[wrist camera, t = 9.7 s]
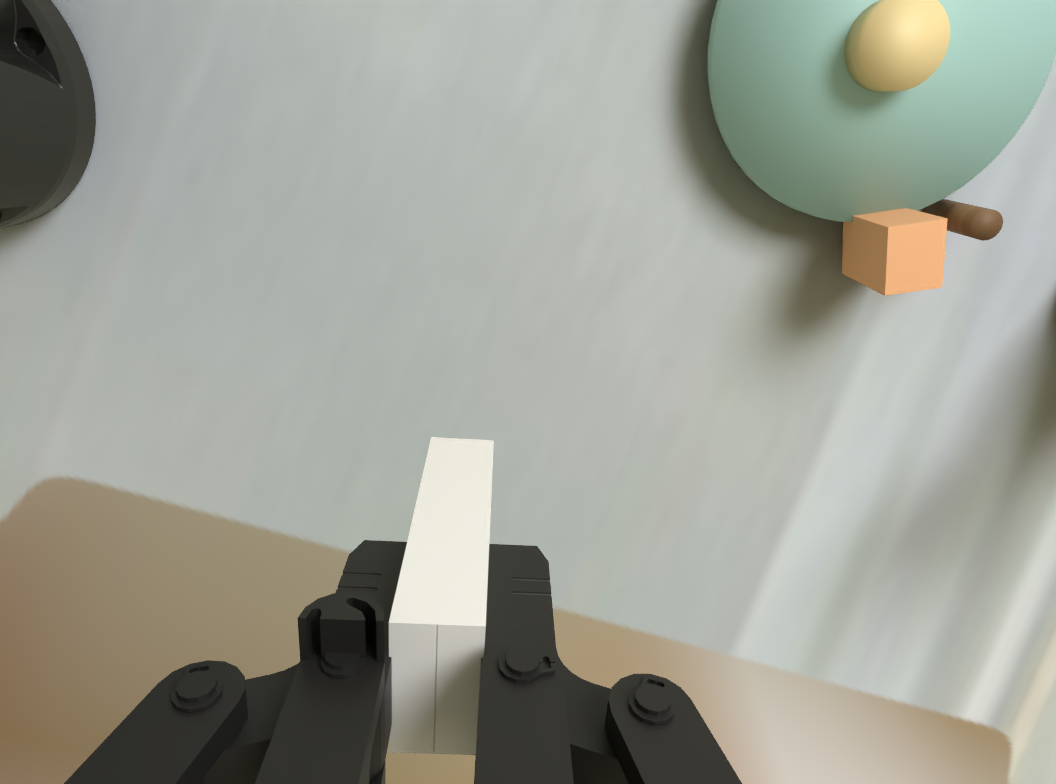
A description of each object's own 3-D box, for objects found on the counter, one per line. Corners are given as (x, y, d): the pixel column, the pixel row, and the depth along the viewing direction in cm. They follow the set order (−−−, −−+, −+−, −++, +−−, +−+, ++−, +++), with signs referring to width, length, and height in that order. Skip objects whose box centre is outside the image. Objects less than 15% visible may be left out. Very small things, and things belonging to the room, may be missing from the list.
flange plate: (716, 291, 43) (743, 315, 38) (698, -127, 35) (729, -165, 30) (1019, 247, 42) (1085, 266, 37) (1072, -188, 34) (1165, -236, 29)
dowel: (916, 217, 42) (966, 231, 38) (933, 193, 42) (986, 204, 37) (936, 230, 43) (988, 245, 38) (954, 206, 42) (1009, 218, 38)
